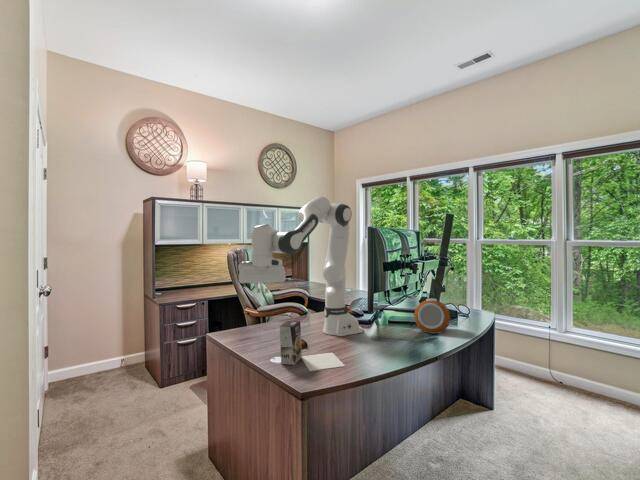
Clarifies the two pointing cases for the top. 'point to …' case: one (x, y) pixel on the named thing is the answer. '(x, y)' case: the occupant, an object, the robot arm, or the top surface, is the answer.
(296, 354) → the coffee box
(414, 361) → the top surface
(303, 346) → the sunglasses case
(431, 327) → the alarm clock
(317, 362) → the felt pad
